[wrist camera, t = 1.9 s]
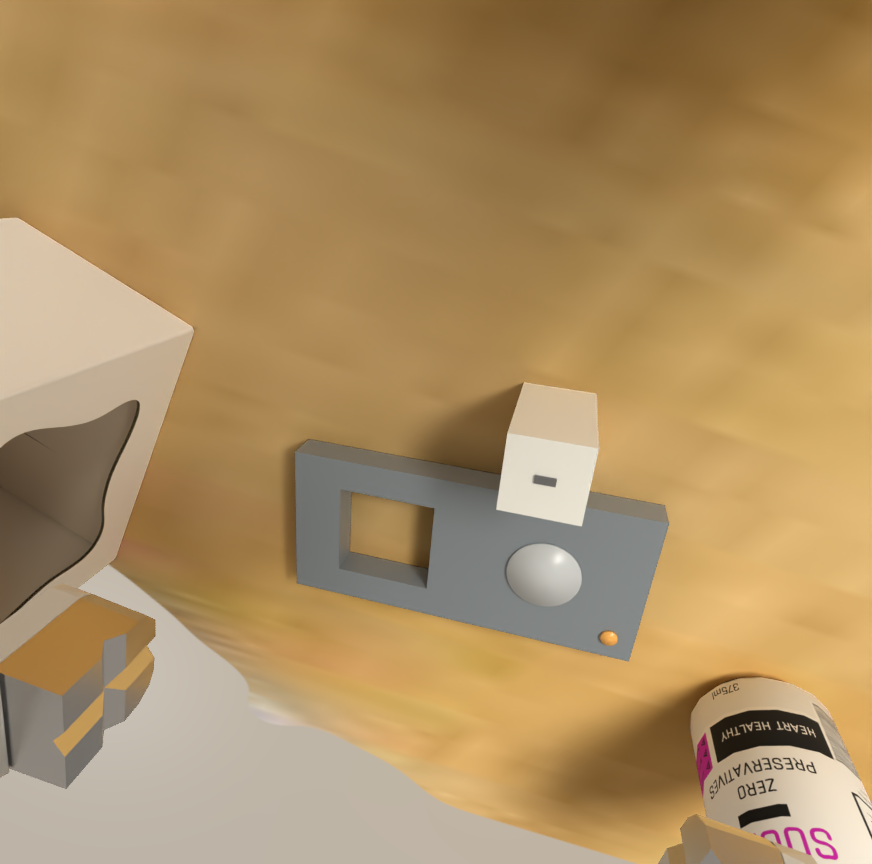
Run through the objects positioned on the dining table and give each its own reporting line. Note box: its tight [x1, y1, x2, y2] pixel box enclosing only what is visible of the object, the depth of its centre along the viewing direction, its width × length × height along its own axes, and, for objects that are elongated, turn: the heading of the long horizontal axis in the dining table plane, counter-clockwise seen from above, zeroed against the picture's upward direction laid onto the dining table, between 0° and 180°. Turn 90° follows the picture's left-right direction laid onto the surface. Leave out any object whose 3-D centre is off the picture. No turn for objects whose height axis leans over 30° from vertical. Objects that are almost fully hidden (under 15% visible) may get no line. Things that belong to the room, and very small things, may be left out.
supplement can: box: [690, 677, 872, 864], centre depth 31 cm, size 8×8×15 cm
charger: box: [496, 382, 599, 527], centre depth 30 cm, size 4×4×8 cm
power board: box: [295, 439, 669, 661], centre depth 36 cm, size 22×10×2 cm, turn 85°
